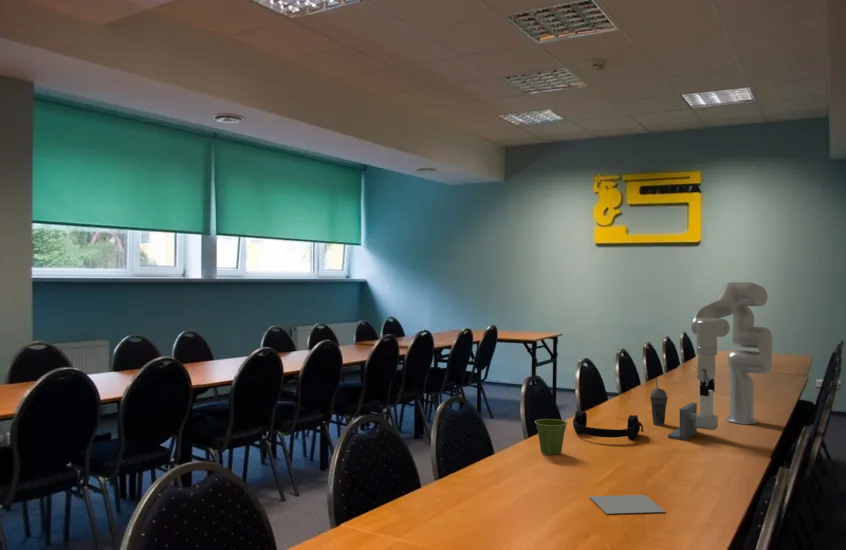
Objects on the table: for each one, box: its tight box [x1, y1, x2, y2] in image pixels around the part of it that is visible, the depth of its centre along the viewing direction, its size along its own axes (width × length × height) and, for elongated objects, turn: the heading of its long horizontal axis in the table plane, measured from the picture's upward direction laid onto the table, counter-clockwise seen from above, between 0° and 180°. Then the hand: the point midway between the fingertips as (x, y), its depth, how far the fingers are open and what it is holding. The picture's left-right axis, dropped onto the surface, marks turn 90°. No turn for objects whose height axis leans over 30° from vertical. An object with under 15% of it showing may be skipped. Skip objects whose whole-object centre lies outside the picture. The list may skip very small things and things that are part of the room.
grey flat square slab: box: [588, 494, 667, 515], centre depth 190 cm, size 23×25×1 cm
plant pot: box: [534, 418, 568, 456], centre depth 241 cm, size 12×12×11 cm
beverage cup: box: [649, 378, 669, 426], centre depth 289 cm, size 7×7×20 cm
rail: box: [699, 390, 714, 418], centre depth 264 cm, size 4×4×14 cm
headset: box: [572, 410, 644, 440], centre depth 268 cm, size 28×26×9 cm
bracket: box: [667, 402, 719, 441], centre depth 266 cm, size 18×16×12 cm
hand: (707, 393), depth 264 cm, fingers open, 9 cm apart
